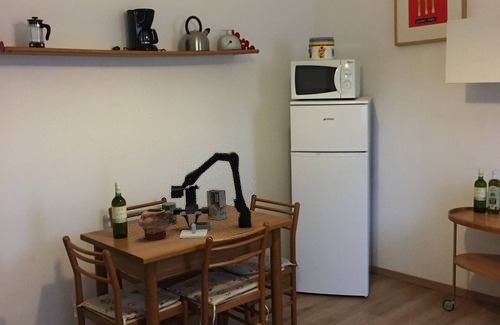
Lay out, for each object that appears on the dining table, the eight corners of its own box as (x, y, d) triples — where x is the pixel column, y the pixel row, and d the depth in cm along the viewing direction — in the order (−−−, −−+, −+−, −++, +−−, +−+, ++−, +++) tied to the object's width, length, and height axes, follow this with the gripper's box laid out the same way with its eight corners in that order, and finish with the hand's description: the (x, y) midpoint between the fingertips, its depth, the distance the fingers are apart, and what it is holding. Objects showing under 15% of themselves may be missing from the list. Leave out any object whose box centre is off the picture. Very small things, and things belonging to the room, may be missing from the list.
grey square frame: (210, 225, 296) (209, 221, 295) (208, 230, 286) (208, 225, 285) (191, 226, 296) (191, 221, 295) (189, 231, 286) (189, 226, 285)
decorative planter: (165, 231, 287) (164, 205, 285) (181, 234, 279) (179, 207, 277) (133, 239, 272) (132, 211, 271) (148, 243, 264) (147, 215, 262)
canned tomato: (178, 221, 309) (177, 201, 307) (175, 224, 301) (174, 204, 300) (164, 221, 310) (163, 202, 308) (160, 224, 302) (159, 205, 300)
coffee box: (227, 218, 313) (225, 190, 311) (220, 220, 307) (219, 192, 305) (214, 216, 318) (212, 189, 316) (207, 218, 312) (206, 190, 310)
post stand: (207, 231, 284) (207, 220, 284) (206, 237, 271) (205, 226, 271) (182, 232, 284) (182, 221, 283) (179, 238, 271) (179, 227, 270)
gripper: (171, 201, 280) (172, 231, 282) (207, 200, 281) (208, 229, 283) (173, 197, 291) (175, 225, 293) (209, 195, 292) (210, 224, 294)
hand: (192, 226), depth 290 cm, fingers open, 3 cm apart
